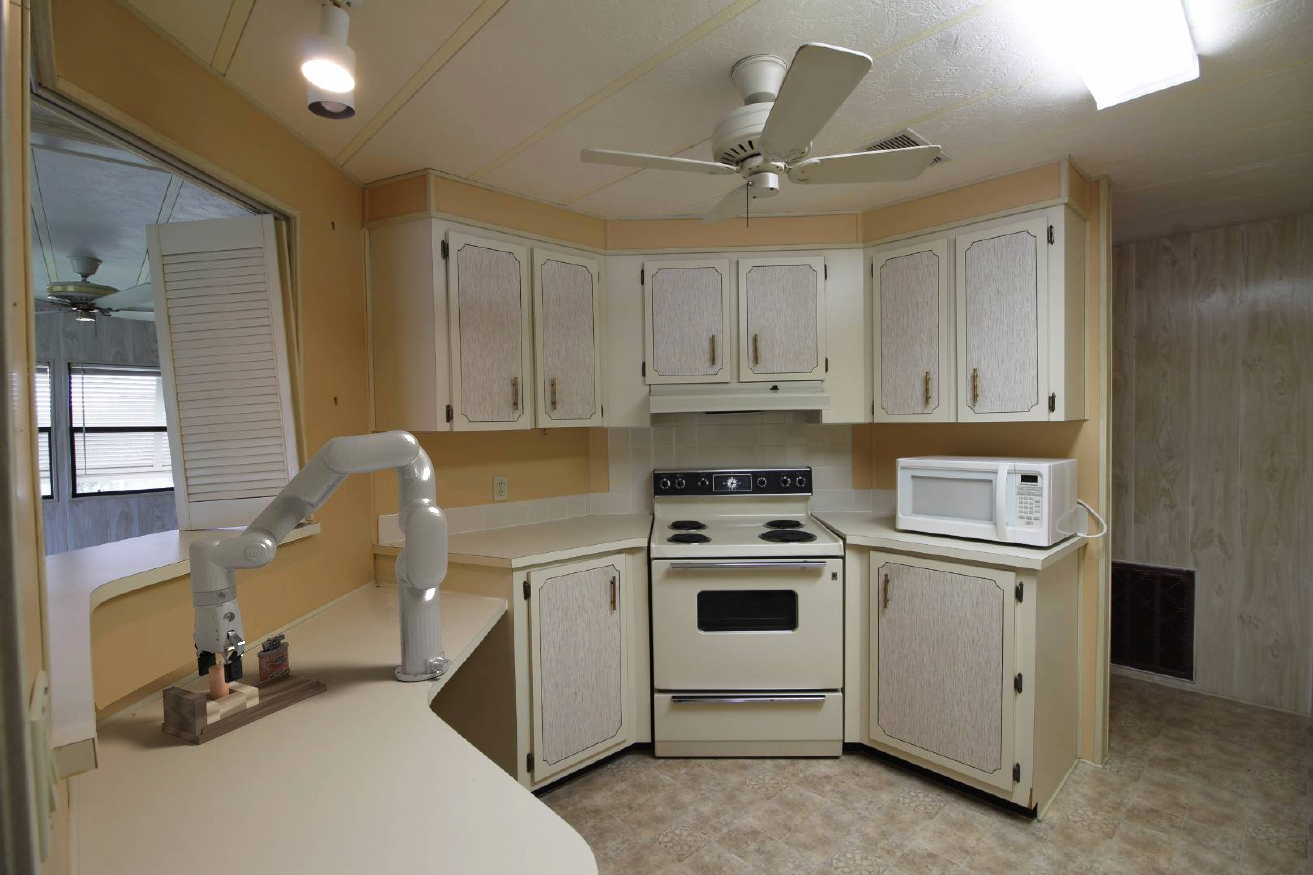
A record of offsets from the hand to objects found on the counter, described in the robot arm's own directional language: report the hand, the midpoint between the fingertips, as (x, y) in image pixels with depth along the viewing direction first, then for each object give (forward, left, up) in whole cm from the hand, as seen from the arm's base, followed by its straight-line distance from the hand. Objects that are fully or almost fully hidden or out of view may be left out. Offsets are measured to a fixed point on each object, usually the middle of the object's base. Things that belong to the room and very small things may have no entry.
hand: (220, 676), depth 126 cm
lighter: (+12, -18, -9) cm, 24 cm away
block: (0, 0, -8) cm, 8 cm away
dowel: (0, 0, -8) cm, 8 cm away
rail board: (0, -5, -9) cm, 11 cm away
